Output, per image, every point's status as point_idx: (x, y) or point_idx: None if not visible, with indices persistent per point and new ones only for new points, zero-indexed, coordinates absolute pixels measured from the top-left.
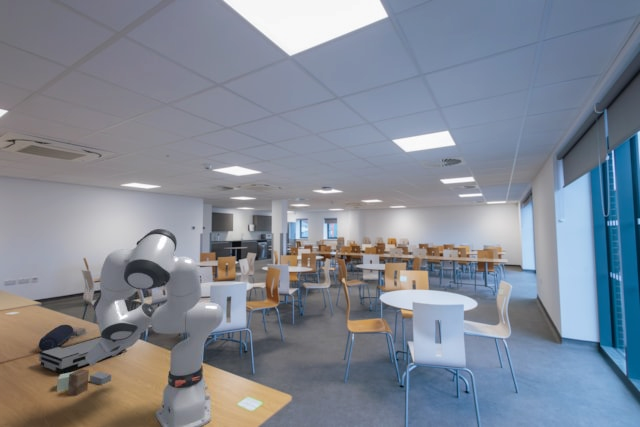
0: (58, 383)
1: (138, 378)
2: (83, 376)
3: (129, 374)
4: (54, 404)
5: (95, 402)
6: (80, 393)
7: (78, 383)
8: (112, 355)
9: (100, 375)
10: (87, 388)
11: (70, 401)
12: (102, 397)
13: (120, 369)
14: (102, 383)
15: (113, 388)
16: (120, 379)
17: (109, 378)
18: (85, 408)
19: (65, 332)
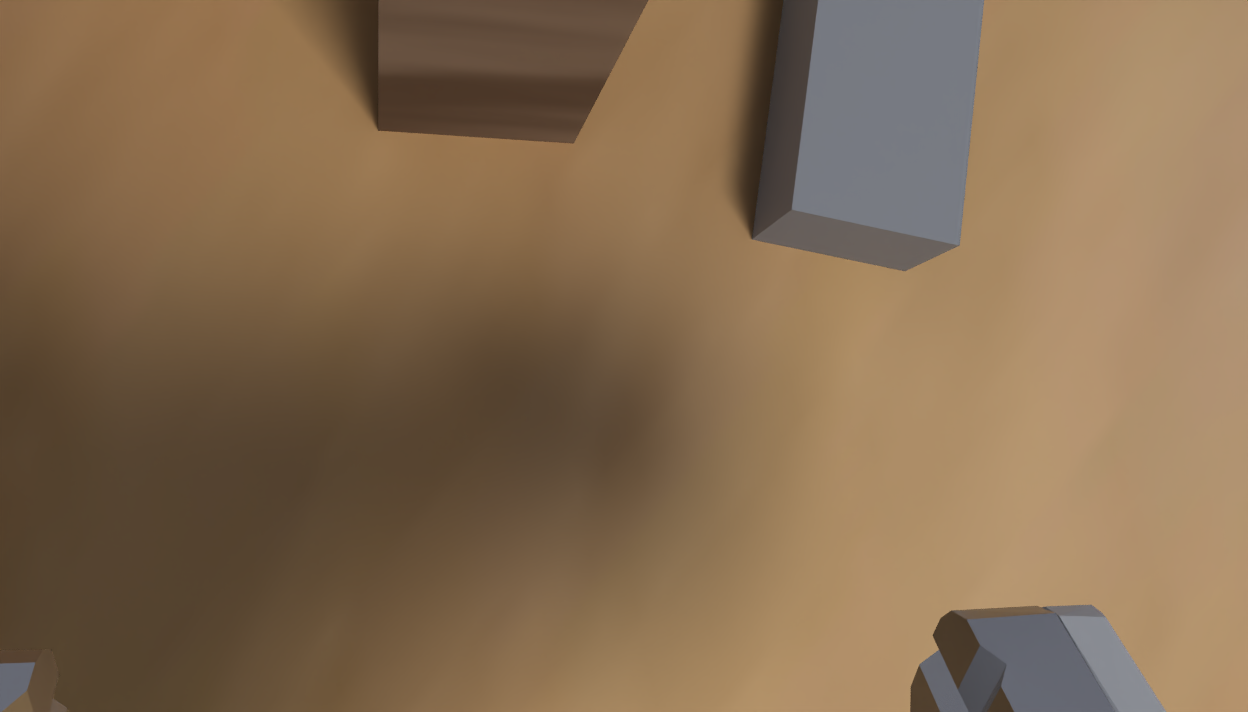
0: None
1: None
2: (517, 16)
3: (1154, 397)
4: (71, 21)
5: (256, 687)
6: (450, 134)
7: (405, 51)
8: (924, 685)
9: (881, 70)
10: (575, 134)
11: (202, 203)
12: (423, 652)
13: (1237, 84)
14: (774, 238)
15: (714, 559)
16: (983, 395)
17: (903, 253)
18: None
19: None
